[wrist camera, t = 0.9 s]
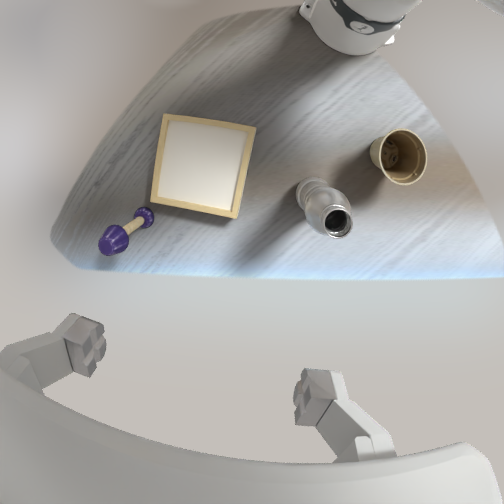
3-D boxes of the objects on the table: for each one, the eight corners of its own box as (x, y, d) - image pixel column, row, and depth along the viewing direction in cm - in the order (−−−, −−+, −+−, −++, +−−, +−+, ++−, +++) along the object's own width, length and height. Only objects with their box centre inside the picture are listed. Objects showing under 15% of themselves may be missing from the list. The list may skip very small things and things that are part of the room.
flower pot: (404, 179, 47) (425, 187, 39) (360, 176, 48) (377, 183, 40) (405, 132, 44) (428, 132, 36) (361, 126, 44) (379, 125, 36)
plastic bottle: (307, 216, 51) (329, 260, 33) (286, 187, 50) (299, 215, 31) (335, 198, 50) (373, 232, 31) (316, 167, 48) (346, 184, 29)
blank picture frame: (170, 115, 45) (163, 113, 42) (256, 128, 46) (255, 127, 42) (157, 197, 51) (150, 201, 48) (238, 213, 52) (236, 218, 48)
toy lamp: (145, 200, 52) (102, 226, 36) (161, 217, 53) (123, 249, 37) (131, 216, 53) (87, 246, 38) (146, 232, 54) (107, 268, 39)
